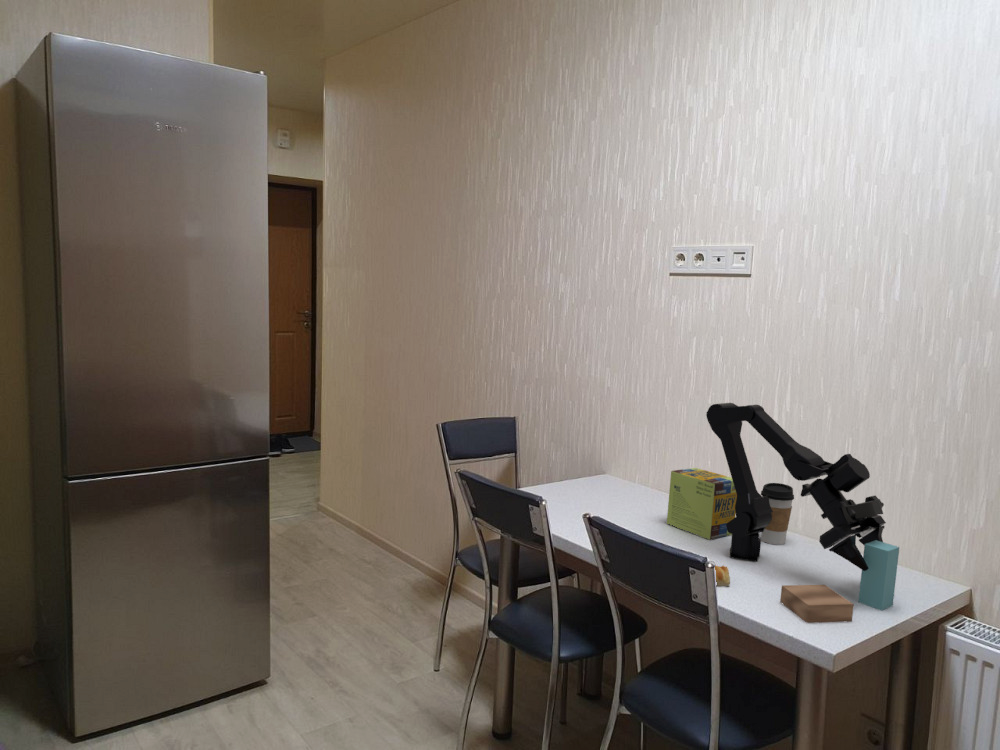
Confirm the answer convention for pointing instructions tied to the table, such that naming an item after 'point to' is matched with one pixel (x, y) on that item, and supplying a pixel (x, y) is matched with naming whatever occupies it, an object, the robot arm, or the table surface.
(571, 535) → the table surface
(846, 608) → the walnut block
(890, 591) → the teal pillar
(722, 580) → the pastry
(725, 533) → the protein box
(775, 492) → the coffee cup
